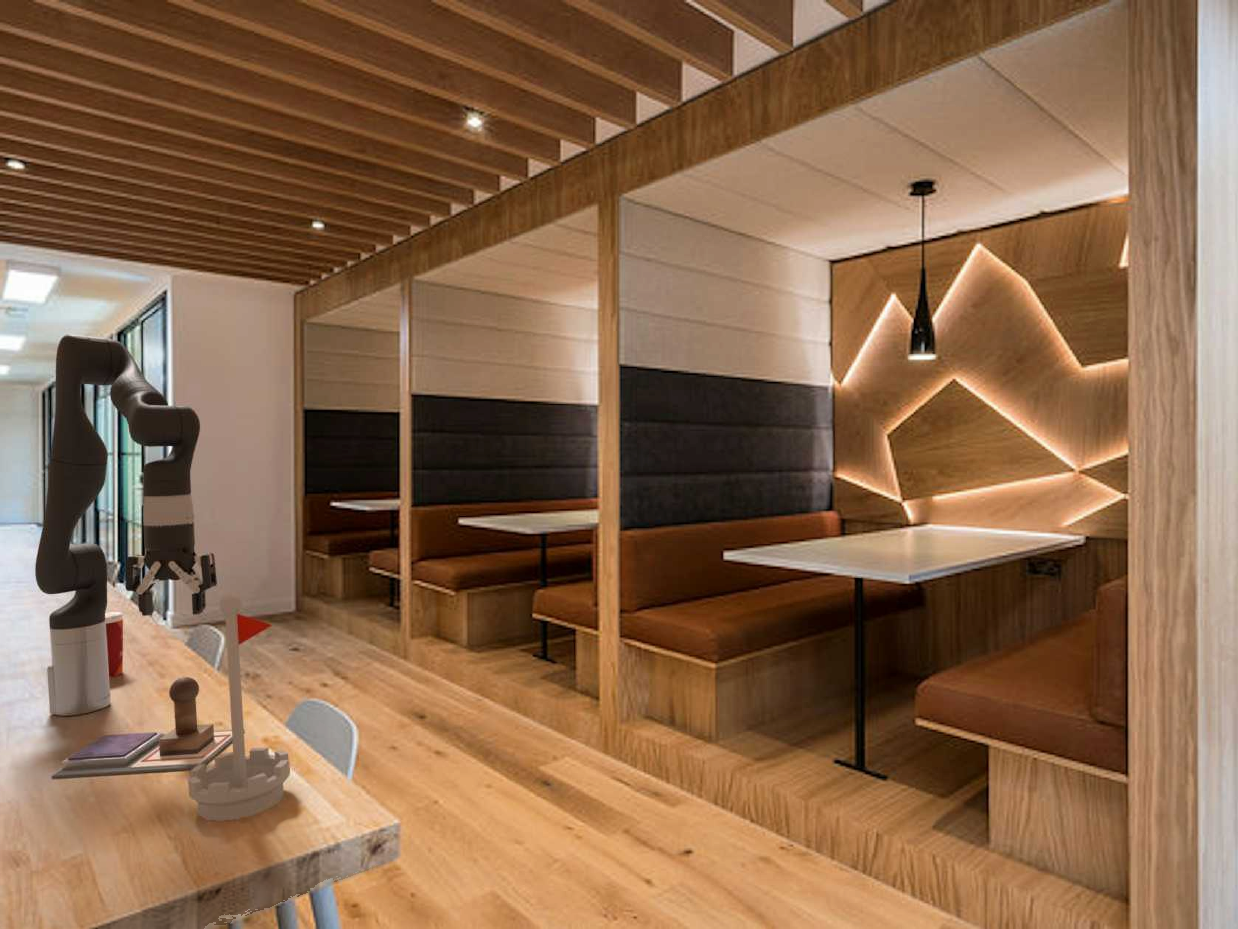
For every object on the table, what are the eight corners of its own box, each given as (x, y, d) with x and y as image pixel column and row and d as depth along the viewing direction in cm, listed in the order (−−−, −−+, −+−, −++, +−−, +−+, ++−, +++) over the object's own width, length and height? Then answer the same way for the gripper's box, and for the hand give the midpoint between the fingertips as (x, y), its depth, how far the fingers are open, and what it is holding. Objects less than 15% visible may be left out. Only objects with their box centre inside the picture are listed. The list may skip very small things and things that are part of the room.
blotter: (51, 778, 122) (51, 774, 122) (113, 739, 138) (112, 735, 137) (200, 769, 123) (200, 764, 123) (244, 731, 139) (244, 727, 139)
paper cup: (135, 670, 182) (132, 612, 182) (104, 680, 175) (100, 619, 175) (111, 668, 185) (107, 611, 185) (80, 678, 178) (76, 618, 177)
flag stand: (184, 833, 102) (171, 608, 101) (195, 794, 114) (183, 592, 113) (291, 811, 107) (279, 596, 106) (290, 775, 119) (280, 582, 118)
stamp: (159, 756, 127) (155, 684, 127) (178, 742, 133) (174, 673, 133) (197, 754, 127) (192, 682, 127) (214, 740, 133) (210, 671, 133)
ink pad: (62, 769, 124) (61, 760, 124) (104, 742, 135) (103, 734, 135) (125, 765, 125) (125, 756, 124) (162, 739, 135) (162, 730, 135)
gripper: (113, 524, 129) (117, 620, 129) (200, 522, 129) (204, 618, 130) (139, 519, 136) (143, 610, 137) (221, 518, 137) (225, 608, 138)
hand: (172, 614), depth 133 cm, fingers open, 8 cm apart
